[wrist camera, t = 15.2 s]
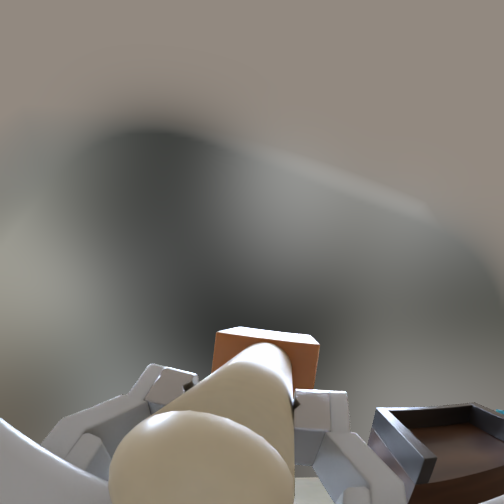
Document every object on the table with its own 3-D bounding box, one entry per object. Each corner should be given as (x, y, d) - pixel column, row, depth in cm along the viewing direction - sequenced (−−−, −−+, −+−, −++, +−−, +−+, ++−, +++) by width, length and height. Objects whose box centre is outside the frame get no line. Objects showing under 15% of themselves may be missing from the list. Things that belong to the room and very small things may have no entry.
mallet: (357, 606, 2) (438, 455, 2) (28, 518, 2) (2, 363, 3) (305, 375, 22) (310, 335, 22) (232, 366, 23) (238, 326, 23)
